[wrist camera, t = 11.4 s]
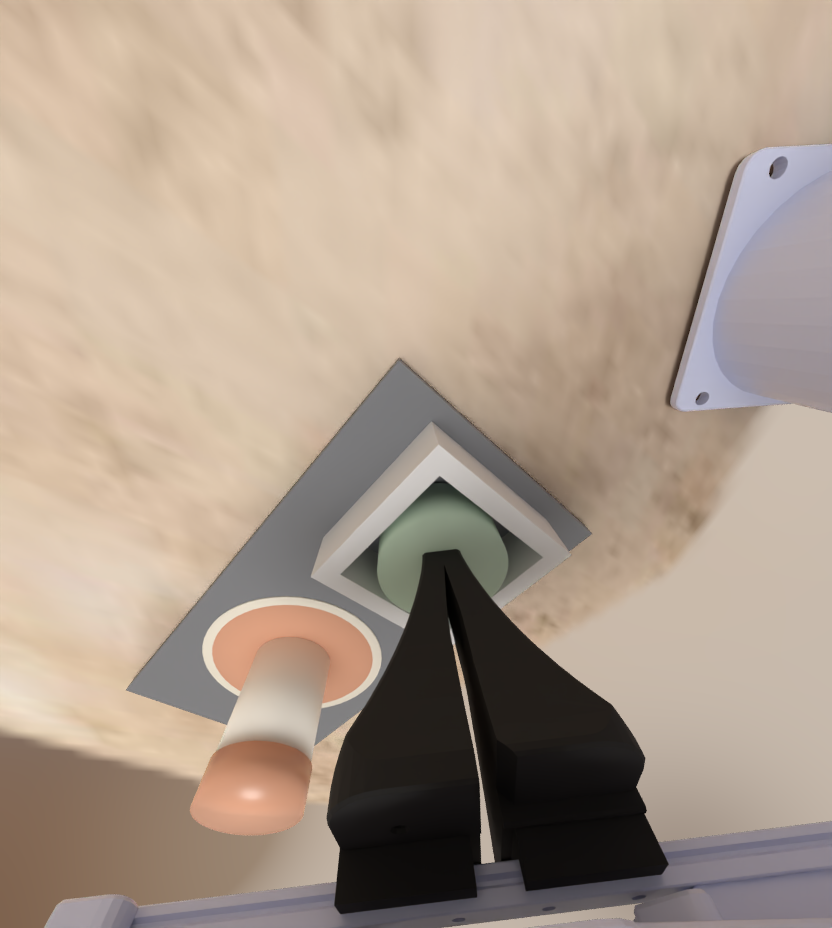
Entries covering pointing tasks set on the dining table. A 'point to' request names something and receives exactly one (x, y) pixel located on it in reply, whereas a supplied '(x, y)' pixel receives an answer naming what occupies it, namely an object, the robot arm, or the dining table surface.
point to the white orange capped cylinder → (267, 743)
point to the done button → (439, 543)
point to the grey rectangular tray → (352, 554)
